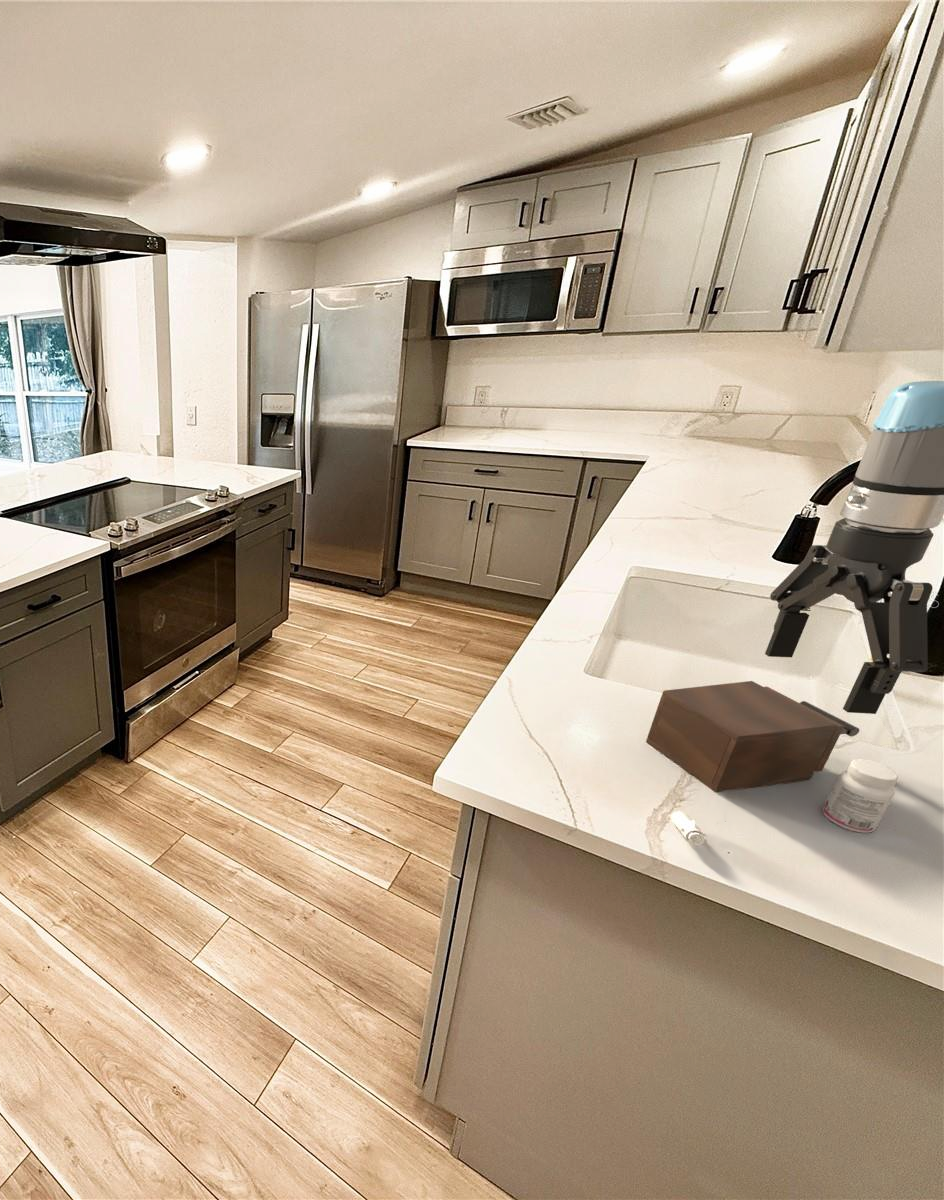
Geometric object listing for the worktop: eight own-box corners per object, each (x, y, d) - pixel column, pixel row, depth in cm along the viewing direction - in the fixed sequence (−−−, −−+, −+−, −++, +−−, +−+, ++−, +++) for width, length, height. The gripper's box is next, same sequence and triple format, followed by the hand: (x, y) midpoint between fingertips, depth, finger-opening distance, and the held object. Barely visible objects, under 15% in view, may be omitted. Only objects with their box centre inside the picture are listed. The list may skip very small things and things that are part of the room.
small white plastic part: (706, 828, 80) (713, 810, 79) (699, 855, 76) (707, 836, 75) (671, 815, 83) (678, 797, 81) (662, 840, 79) (670, 821, 78)
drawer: (782, 724, 97) (801, 682, 94) (858, 766, 88) (882, 721, 84) (669, 737, 96) (685, 695, 93) (735, 781, 86) (754, 736, 83)
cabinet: (730, 731, 97) (751, 680, 94) (810, 780, 87) (837, 725, 83) (645, 741, 96) (663, 690, 93) (715, 792, 86) (738, 736, 82)
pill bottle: (833, 803, 83) (859, 753, 79) (882, 826, 79) (912, 775, 75) (813, 813, 81) (838, 763, 78) (862, 838, 77) (891, 786, 74)
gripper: (770, 496, 82) (720, 635, 91) (946, 561, 60) (859, 737, 69) (838, 495, 80) (781, 637, 89) (1046, 562, 58) (943, 743, 67)
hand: (815, 681), depth 79 cm, fingers open, 13 cm apart
